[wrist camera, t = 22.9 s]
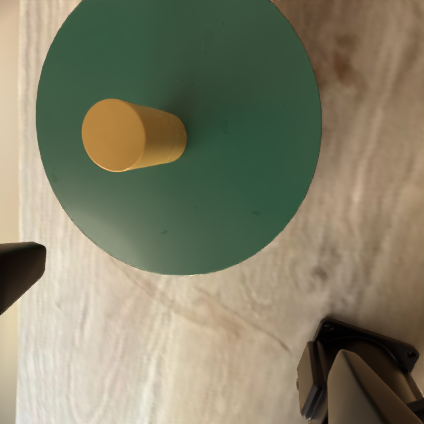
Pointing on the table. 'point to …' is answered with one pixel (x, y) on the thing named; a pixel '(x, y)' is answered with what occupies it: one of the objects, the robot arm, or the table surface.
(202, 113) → the lid
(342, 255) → the table surface
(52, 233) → the table surface
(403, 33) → the table surface
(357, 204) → the table surface
